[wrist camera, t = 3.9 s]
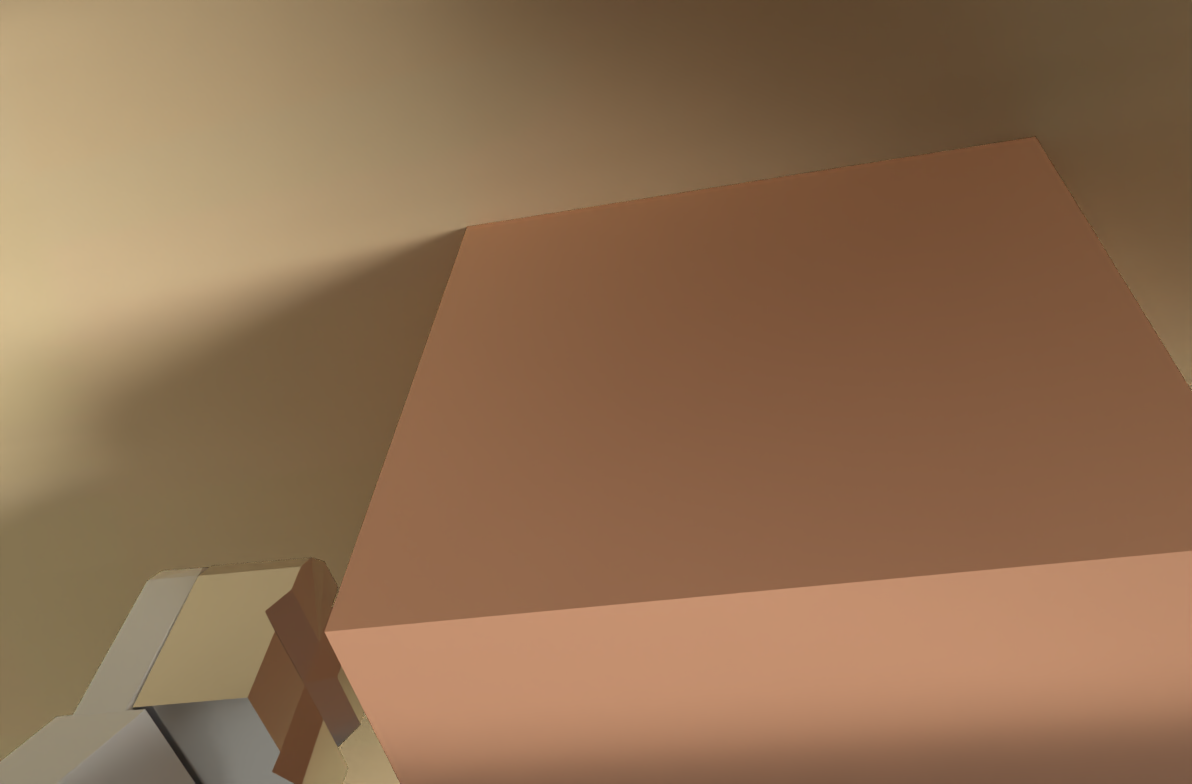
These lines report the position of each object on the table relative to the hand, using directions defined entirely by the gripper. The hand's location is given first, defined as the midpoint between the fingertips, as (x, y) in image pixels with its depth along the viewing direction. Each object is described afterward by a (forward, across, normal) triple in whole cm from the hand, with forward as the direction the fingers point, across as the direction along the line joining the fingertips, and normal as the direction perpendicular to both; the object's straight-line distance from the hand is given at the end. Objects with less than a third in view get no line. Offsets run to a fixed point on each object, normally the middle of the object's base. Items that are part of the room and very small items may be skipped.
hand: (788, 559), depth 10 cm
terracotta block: (+2, 0, 0) cm, 2 cm away
